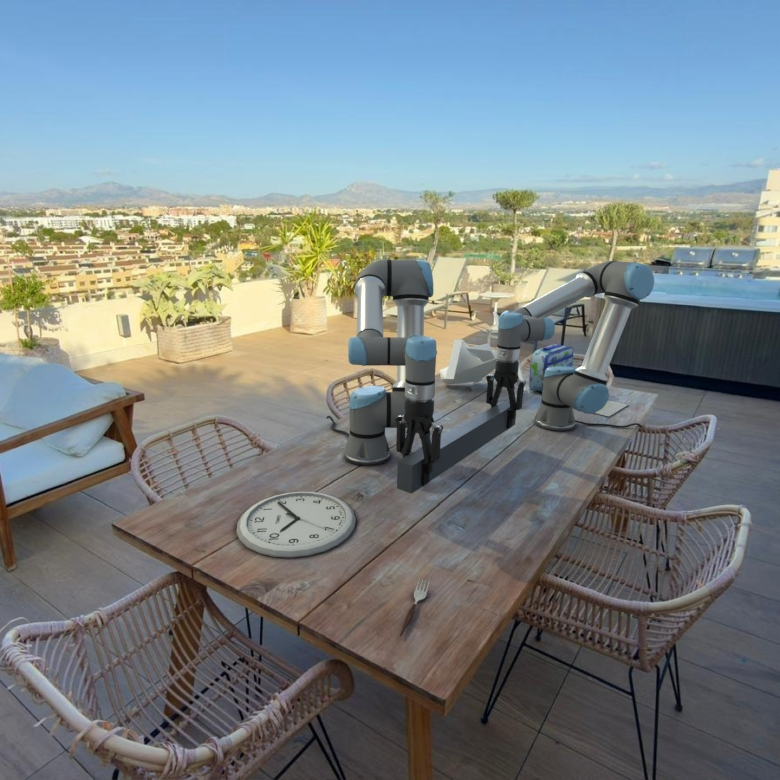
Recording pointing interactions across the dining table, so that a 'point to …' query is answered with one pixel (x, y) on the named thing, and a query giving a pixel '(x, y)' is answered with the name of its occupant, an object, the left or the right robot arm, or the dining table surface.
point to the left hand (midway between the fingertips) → (416, 480)
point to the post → (454, 446)
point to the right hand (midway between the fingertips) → (501, 425)
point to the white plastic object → (473, 363)
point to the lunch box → (548, 363)
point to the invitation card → (611, 408)
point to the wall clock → (296, 524)
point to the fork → (418, 596)
